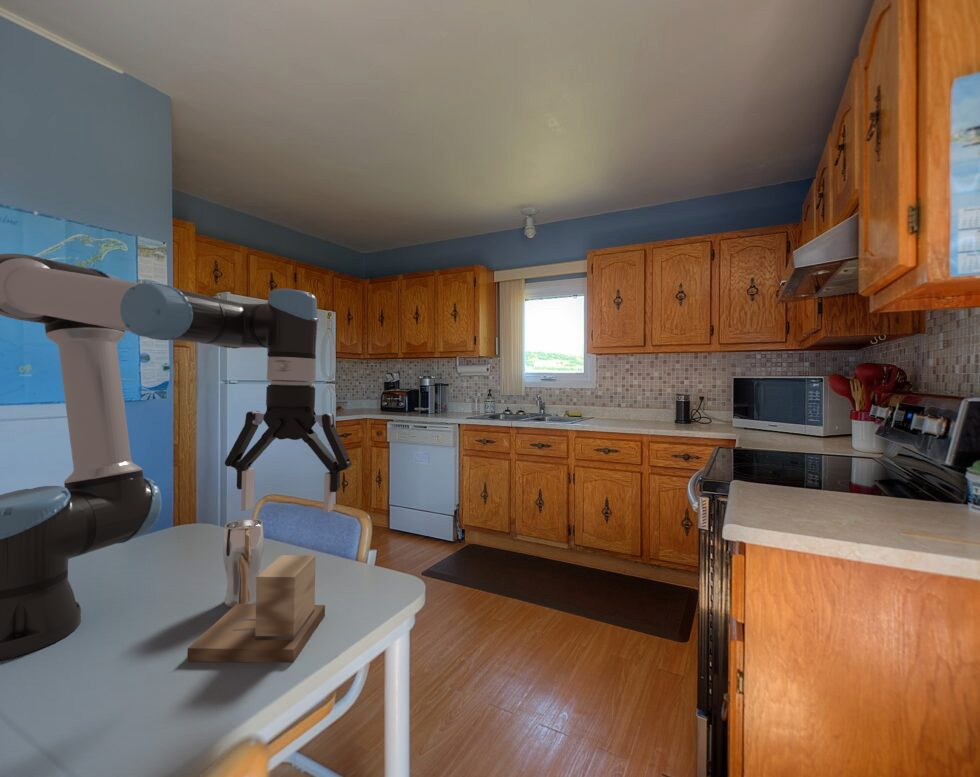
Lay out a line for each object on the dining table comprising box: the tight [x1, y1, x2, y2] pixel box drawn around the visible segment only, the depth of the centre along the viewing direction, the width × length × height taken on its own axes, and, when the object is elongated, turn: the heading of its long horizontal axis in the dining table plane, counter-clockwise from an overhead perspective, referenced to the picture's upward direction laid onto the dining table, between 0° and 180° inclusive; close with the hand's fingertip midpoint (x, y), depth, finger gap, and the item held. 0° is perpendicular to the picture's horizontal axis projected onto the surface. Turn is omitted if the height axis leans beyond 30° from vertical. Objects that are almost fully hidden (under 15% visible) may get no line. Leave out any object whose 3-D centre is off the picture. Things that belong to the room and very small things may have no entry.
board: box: [186, 603, 326, 664], centre depth 77 cm, size 16×14×2 cm
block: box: [255, 554, 316, 640], centre depth 77 cm, size 6×9×10 cm, turn 1°
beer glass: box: [222, 518, 265, 609], centre depth 89 cm, size 7×7×15 cm
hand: (288, 509), depth 77 cm, fingers open, 13 cm apart
